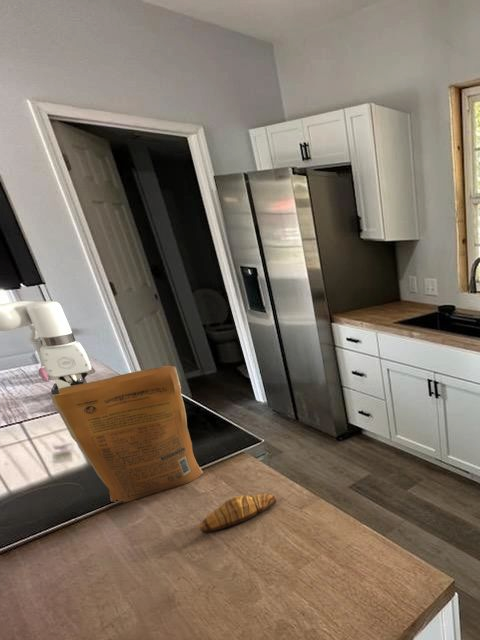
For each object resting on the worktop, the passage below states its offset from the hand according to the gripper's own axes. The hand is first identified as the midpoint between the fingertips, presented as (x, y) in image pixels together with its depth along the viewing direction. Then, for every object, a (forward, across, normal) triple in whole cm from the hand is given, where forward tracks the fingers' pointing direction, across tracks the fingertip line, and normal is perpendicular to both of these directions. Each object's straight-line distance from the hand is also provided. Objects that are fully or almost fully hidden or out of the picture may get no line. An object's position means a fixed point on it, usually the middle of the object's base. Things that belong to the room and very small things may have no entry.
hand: (80, 392), depth 139 cm
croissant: (+4, +29, -106) cm, 110 cm away
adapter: (+3, -4, +15) cm, 16 cm away
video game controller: (+3, -9, +40) cm, 41 cm away
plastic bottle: (+3, -11, +50) cm, 51 cm away
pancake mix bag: (+4, +17, -82) cm, 84 cm away
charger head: (+2, -4, +15) cm, 16 cm away
